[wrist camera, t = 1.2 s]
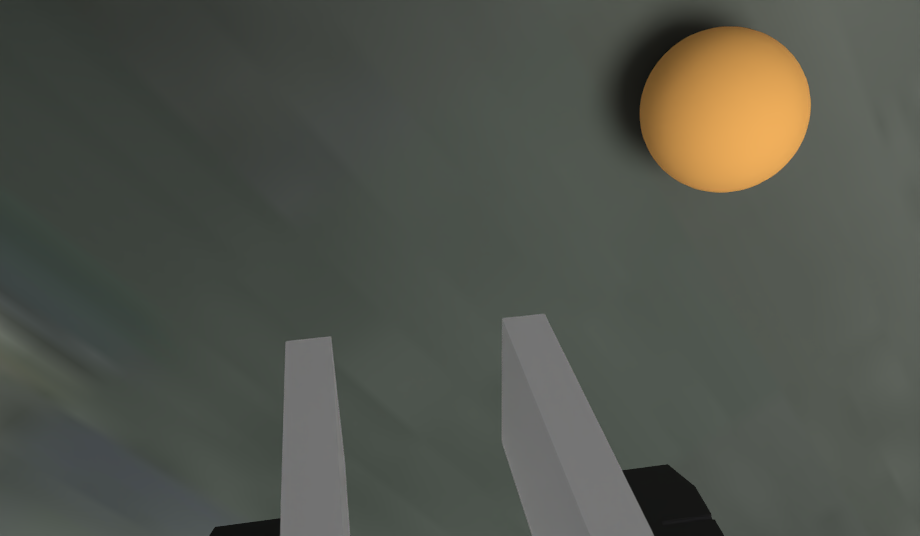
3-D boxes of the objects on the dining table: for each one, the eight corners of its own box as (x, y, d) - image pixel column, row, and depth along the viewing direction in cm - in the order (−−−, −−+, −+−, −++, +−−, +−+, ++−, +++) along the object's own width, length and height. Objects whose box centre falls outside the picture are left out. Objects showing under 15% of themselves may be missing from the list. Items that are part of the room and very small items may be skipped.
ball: (623, 15, 29) (686, 54, 25) (771, 7, 30) (861, 42, 25) (612, 164, 32) (668, 225, 27) (750, 153, 33) (827, 210, 28)
